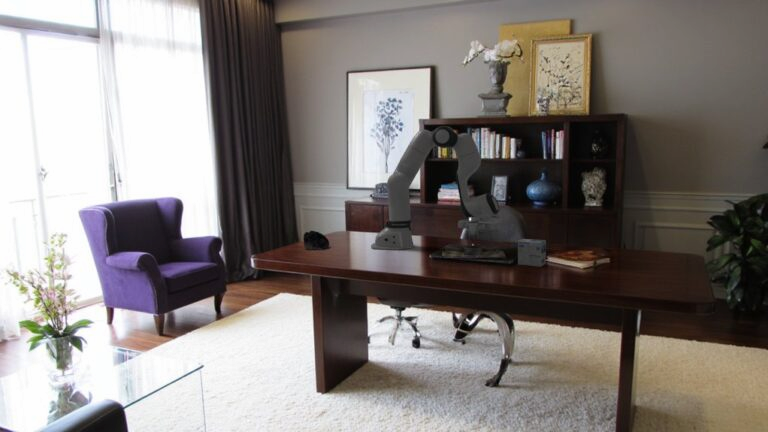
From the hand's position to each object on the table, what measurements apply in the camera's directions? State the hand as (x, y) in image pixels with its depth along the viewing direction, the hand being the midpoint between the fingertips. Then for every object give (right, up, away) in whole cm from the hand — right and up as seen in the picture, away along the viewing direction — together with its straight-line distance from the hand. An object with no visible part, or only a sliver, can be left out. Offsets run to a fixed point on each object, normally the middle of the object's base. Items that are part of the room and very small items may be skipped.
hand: (472, 227), depth 261 cm
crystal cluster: (-77, -12, +34) cm, 85 cm away
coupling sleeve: (+1, -5, +2) cm, 6 cm away
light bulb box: (+23, -16, -16) cm, 33 cm away
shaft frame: (+1, -14, +3) cm, 14 cm away
